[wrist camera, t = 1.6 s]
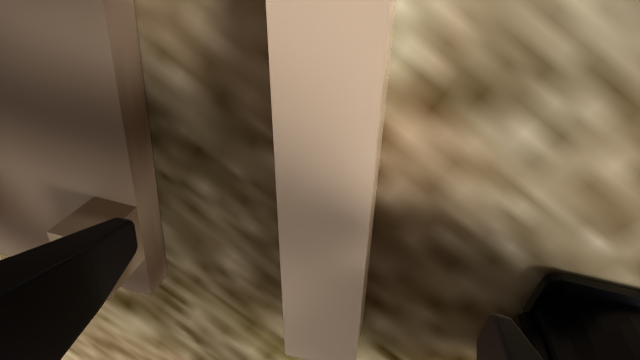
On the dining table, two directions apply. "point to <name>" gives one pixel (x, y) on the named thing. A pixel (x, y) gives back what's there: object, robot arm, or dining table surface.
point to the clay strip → (327, 162)
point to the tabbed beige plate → (76, 129)
